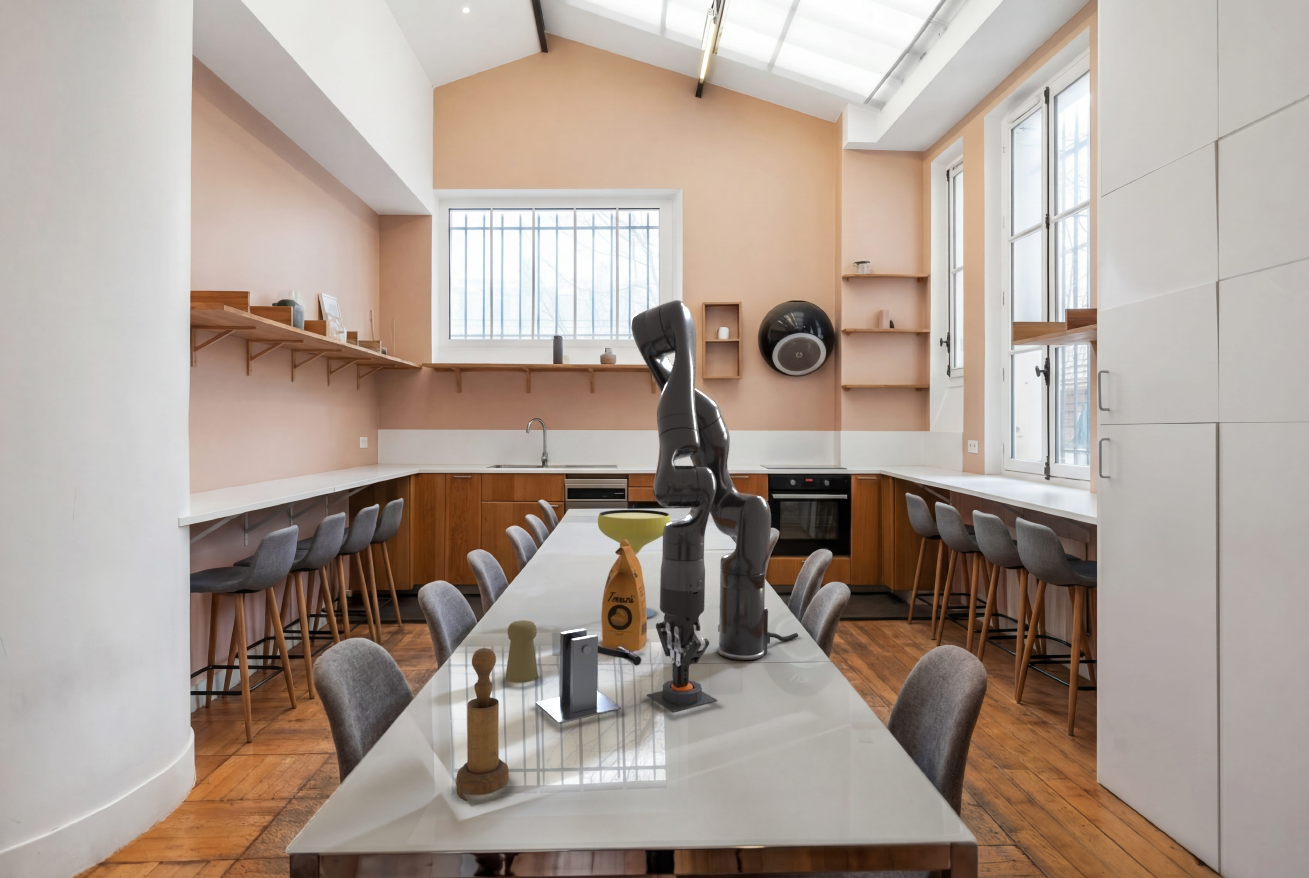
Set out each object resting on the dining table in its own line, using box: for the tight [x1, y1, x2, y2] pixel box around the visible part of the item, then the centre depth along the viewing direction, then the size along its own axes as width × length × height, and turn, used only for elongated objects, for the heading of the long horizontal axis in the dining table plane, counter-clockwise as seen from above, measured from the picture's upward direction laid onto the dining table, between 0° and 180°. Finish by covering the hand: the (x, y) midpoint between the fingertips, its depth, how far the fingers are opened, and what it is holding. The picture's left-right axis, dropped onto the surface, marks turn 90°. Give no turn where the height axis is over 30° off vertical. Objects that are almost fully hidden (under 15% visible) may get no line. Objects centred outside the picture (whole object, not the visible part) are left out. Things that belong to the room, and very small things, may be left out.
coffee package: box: [600, 539, 648, 652], centre depth 145 cm, size 10×12×22 cm
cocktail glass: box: [597, 509, 671, 619], centre depth 171 cm, size 18×18×25 cm
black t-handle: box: [567, 635, 642, 667], centre depth 114 cm, size 12×6×2 cm, turn 123°
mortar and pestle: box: [455, 647, 510, 802], centre depth 88 cm, size 7×6×18 cm
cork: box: [505, 619, 538, 684], centre depth 125 cm, size 6×6×11 cm
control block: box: [646, 679, 718, 713], centre depth 116 cm, size 9×8×3 cm
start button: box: [671, 683, 693, 691], centre depth 116 cm, size 4×4×2 cm
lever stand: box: [535, 628, 622, 724], centre depth 112 cm, size 11×9×13 cm
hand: (680, 685), depth 116 cm, fingers closed
